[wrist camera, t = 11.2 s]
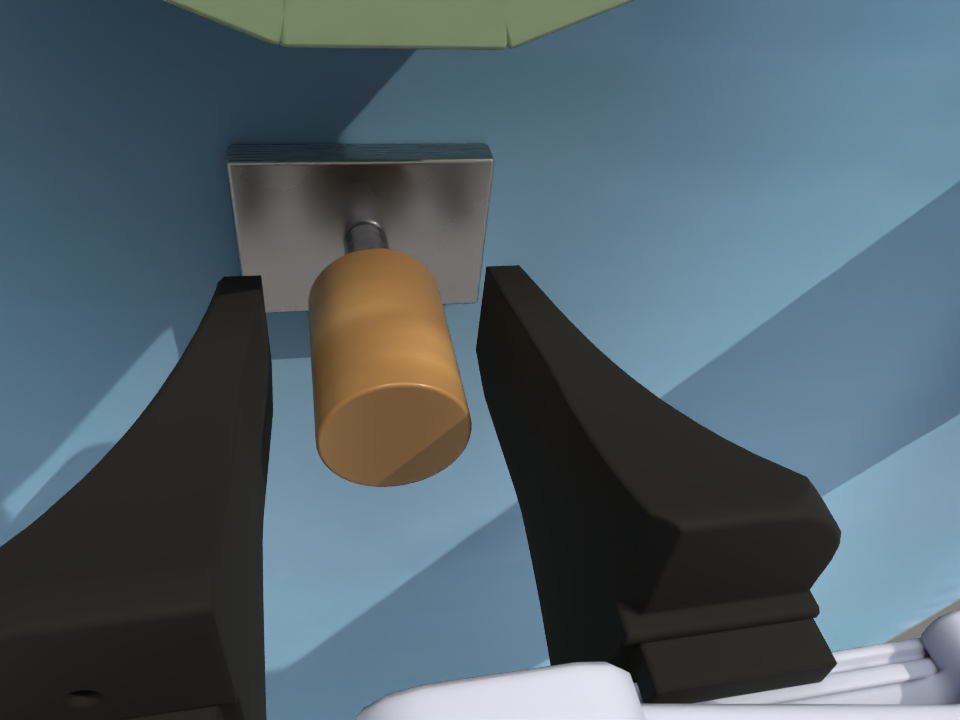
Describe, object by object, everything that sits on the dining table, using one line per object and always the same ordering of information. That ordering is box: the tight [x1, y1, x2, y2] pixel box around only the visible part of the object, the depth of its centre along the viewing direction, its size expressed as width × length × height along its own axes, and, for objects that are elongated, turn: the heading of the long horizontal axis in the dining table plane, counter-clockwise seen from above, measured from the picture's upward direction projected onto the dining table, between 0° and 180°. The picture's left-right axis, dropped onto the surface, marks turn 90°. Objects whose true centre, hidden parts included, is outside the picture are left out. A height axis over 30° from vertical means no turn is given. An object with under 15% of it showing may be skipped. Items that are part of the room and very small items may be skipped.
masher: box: [226, 144, 494, 487], centre depth 14 cm, size 5×4×6 cm
